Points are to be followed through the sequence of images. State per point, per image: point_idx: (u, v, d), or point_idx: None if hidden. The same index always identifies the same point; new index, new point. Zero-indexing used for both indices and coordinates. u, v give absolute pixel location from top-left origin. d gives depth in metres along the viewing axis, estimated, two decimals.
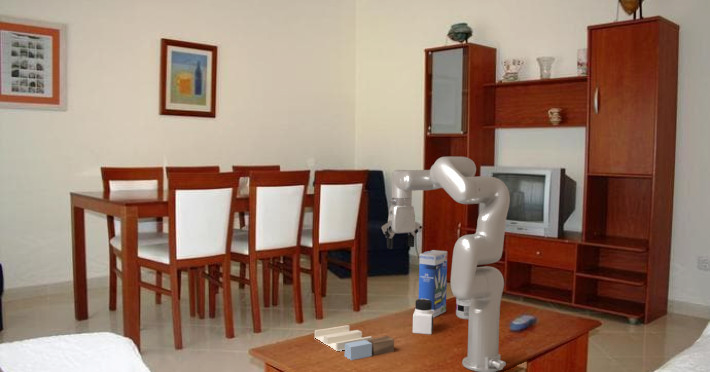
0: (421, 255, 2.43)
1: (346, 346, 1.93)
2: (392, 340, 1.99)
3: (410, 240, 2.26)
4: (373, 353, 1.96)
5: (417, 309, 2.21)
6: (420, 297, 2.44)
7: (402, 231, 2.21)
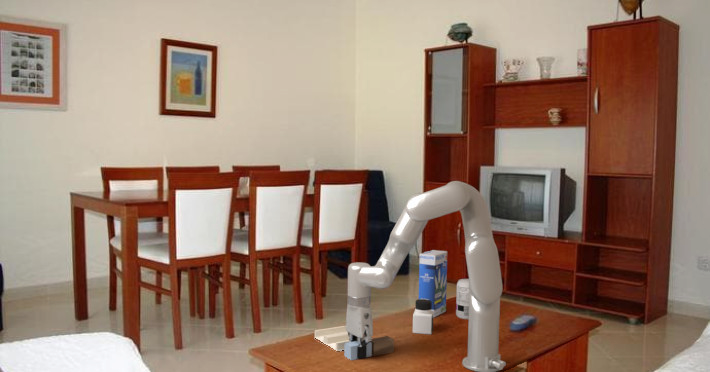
0: (421, 255, 2.43)
1: (346, 345, 1.93)
2: (392, 340, 1.99)
3: None
4: (373, 353, 1.96)
5: (417, 309, 2.21)
6: (420, 297, 2.44)
7: None
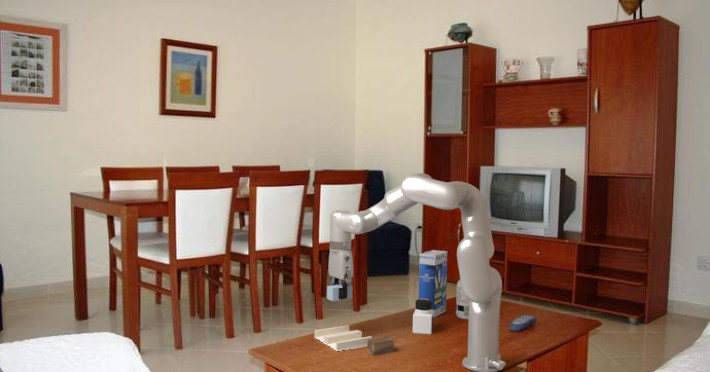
0: (421, 255, 2.43)
1: (328, 288, 2.08)
2: (392, 340, 1.99)
3: None
4: (373, 353, 1.96)
5: (417, 309, 2.21)
6: (420, 297, 2.44)
7: None
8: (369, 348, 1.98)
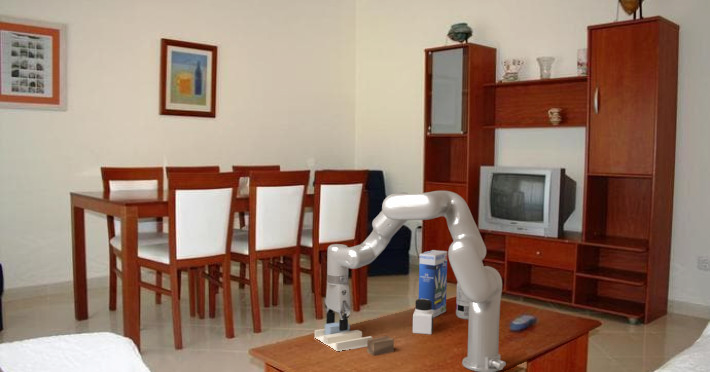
0: (421, 255, 2.43)
1: (326, 326, 2.11)
2: (392, 340, 1.99)
3: (331, 317, 2.16)
4: (373, 353, 1.96)
5: (417, 309, 2.21)
6: (420, 297, 2.44)
7: None
8: (369, 348, 1.98)
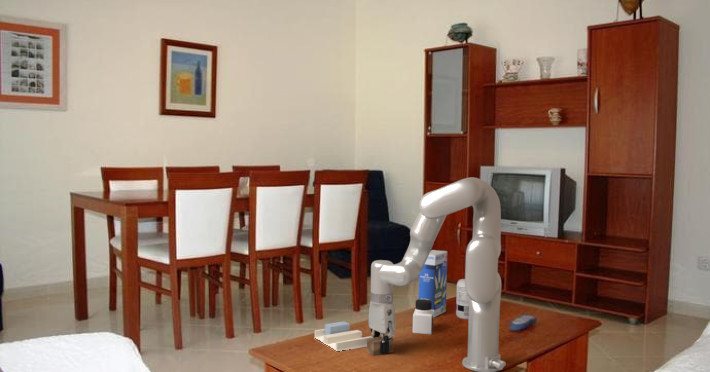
0: None
1: (326, 326, 2.11)
2: (391, 340, 1.99)
3: None
4: (372, 352, 1.96)
5: (417, 309, 2.21)
6: (420, 297, 2.44)
7: None
8: (368, 347, 1.98)
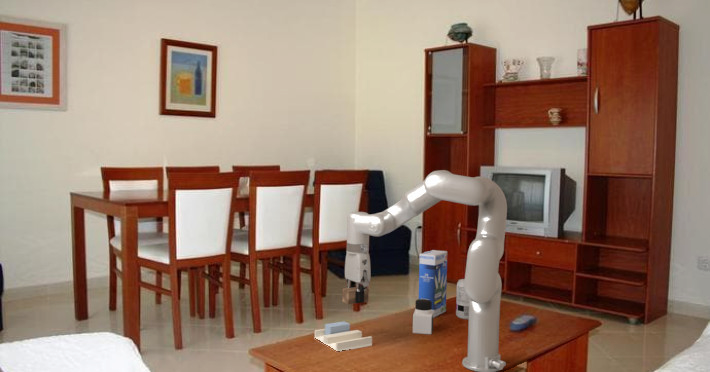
0: (421, 255, 2.43)
1: (326, 326, 2.11)
2: (366, 290, 2.03)
3: None
4: (347, 301, 2.00)
5: (417, 309, 2.21)
6: (420, 297, 2.44)
7: None
8: (344, 297, 2.02)
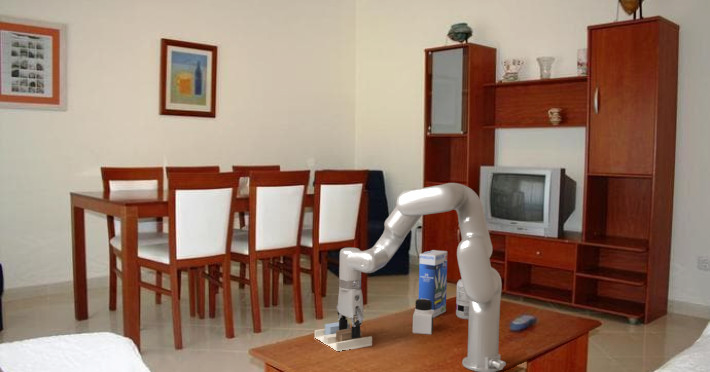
0: (421, 255, 2.43)
1: (326, 326, 2.11)
2: (360, 331, 2.05)
3: (344, 324, 2.08)
4: None
5: (417, 309, 2.21)
6: (420, 297, 2.44)
7: None
8: (337, 339, 2.04)
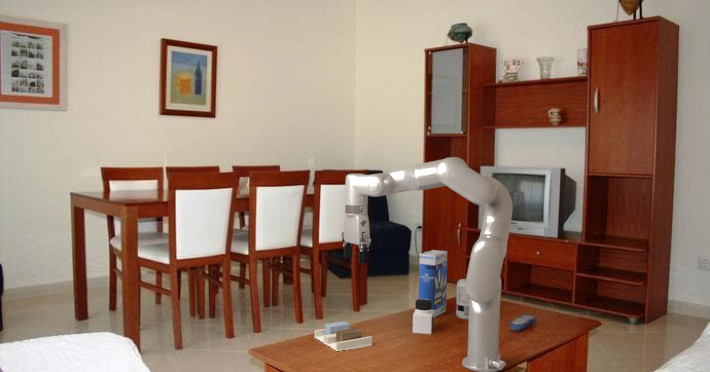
0: (421, 255, 2.43)
1: (326, 326, 2.11)
2: (360, 331, 2.05)
3: (349, 251, 2.05)
4: None
5: (417, 309, 2.21)
6: (420, 297, 2.44)
7: None
8: (337, 339, 2.04)
